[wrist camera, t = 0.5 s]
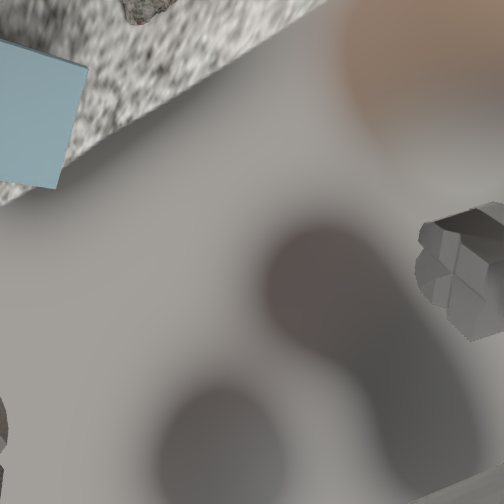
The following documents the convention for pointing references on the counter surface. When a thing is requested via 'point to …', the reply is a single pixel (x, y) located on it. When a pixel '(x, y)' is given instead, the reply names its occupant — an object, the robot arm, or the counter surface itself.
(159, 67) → the counter surface
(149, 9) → the mineral rock
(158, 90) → the counter surface
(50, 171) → the trapdoor
